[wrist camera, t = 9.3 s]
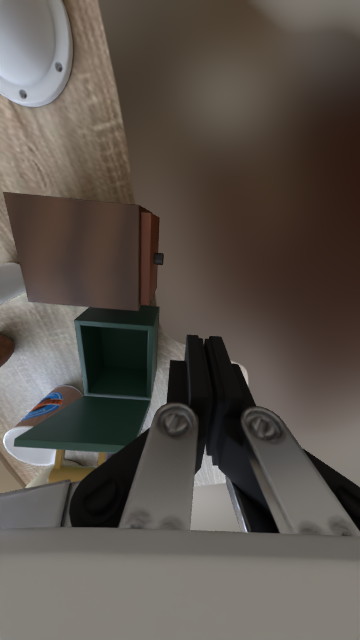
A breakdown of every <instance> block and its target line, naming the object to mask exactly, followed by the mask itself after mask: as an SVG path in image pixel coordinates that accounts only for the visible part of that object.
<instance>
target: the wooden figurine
mask: <svg viewBox="0 0 360 640" xmlns="http://www.w3.org/2000/svg"><path fill="white" fill-rule="evenodd" d="M13 352H14V343H13V341H12V340H11V339H10V338H8V337H6V336H4V335H0V367H1V366H2V365H3V364H4V363H6V362H7V360H8V359H9V358H10V357H11V355H12V354H13Z"/></svg>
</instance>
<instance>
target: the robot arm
mask: <svg viewBox="0 0 360 640" xmlns="http://www.w3.org/2000/svg"><path fill="white" fill-rule="evenodd" d="M72 60H73V39H72V33H71V26H70V22H69V18H68V15H67V11H66V8H65V6H64V3H63V1H62V0H0V94H2V95H3V96H5V97H6V98H8V99H9V100H11V101H12V102H15V103H17V104H20V105H22V106H28V107H40V106H43V105H46V104H49V103H50V102H52V101H53V100H54V99H56V98H57V97H58V96H59V95H60V93H61V92H62V91H63V89H64V87H65V85H66V83H67V81H68V79H69V75H70V72H71V68H72ZM205 444H206V453H207V455H209V456H212V463H213V465H216V466H218V467H219V469H220V470H221V471H222V472H223V473H224V474H225V475H226V476H225V479H226V484H227V487H228V491H229V494H230V497H231V501H232V504H233V507H234V510H235V513H236V517H237V520H238V524H239V527H240V530H241V532H226V531H196V530H190V524H191V511H192V499H193V487H194V475H195V474H196V473H197V472H198V470H199V469H200V468H201V464H202V458H203V454H204V449H205ZM0 640H360V487H358V486H357V485H356V484H354V483H353V482H351V481H350V480H349V479H347V478H346V477H344V476H342V475H341V474H340V473H338V472H337V471H335V470H334V469H332V468H331V467H329V466H328V465H326V464H325V463H324V462H322V461H321V460H319V459H318V458H316V457H315V456H313V455H311V454H310V453H309V452H307V451H306V450H304V449H303V448H302V447H301V446H300V445H299V443H298V442H297V440H296V439H295V437H294V436H293V435H292V433H291V432H290V430H289V429H288V427H287V426H286V424H285V423H284V422H283V420H281V418H280V417H279V416H278V415H276V414H275V413H274V412H272V411H270V410H268V409H266V408H263V407H259V406H256V404H255V402H254V400H253V398H252V395H251V393H250V390H249V388H248V385H247V383H246V381H245V378H244V376H243V374H242V371H241V369H240V367H239V365H238V364H231V361H230V359H229V356H228V353H227V350H226V348H225V345H224V343H223V340H222V337H218V336H210V337H209V339H205V343H204V344H203V339H202V338H199V337H198V335H187V338H186V349H185V360H184V361H177V360H170V368H169V380H168V393H167V404H165V405H163V406H161V407H160V408H159V409H158V410H157V411H156V413H155V415H154V418H153V421H152V424H151V427H150V428H149V429H148V430H146V431H145V432H144V433H142V434H141V435H140V436H138V437H137V438H136V439H134V440H133V441H132V442H130V443H129V444H128V445H126V446H125V447H124V448H122V449H121V450H120V451H118V452H117V453H116V454H114V455H113V456H112V457H110V458H109V459H108V460H106V461H105V462H104V463H102V464H101V465H100V466H98V467H97V468H95V469H94V470H93V471H91V472H90V473H89V474H88V475H87V476H86V477H85V478H84V479H82V480H80V481H75V482H71V480H70V479H67V480H62V481H58V482H53V483H48V484H43V485H39V486H34V487H29V488H24V489H20V490H15V491H10V492H5V493H1V494H0Z"/></svg>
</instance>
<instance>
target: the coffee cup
mask: <svg viewBox="0 0 360 640" xmlns="http://www.w3.org/2000/svg"><path fill="white" fill-rule="evenodd" d="M82 396H83V395H82V393H81V392H80V391H79V390H78V389H76V388H75V387H72V386H69V385H62V386H58V387H57V388H55V389H54V390H53V391H51V392H50V393H49V394H48V395H47V396H46V397H45V398H44V399H43V400H42V401H41V402H40V403H39V404H38V405H36V406H35V407H34V408H33V409H32V410H31V411H30V412H29V413H28V414H27V415H26V416H25V418H23V419H22V420H21V422H19V423H18V424H17V425H16V426H15V427H14V428H13V429H11V430H9V431H8V432H7V433H6V434H5V436H4V440H3V442H4V446H5V448H6V449H7V451H8V452H9V453H10V454H11V455H12V456H14V457H15V458H17V459H19V460H21V461H23V462H25V463H29V464H32V465H40V466H45V465H51V464H54V462H55V455H56V449H42V448H27V447H14V446H13V445H14V439H15V438H16V437H18V436H19V435H21V434H23V433H24V432H26V431H27V430H29V429H31V428H32V427H34V426H36V425H37V424H39V423H40V422H42V421H44V420H45V419H47V418H48V417H50V416H52V415H53V414H55V413H57V412H58V411H60V410H61V409H63V408H65V407H66V406H68V405H69V404H71V403H73V402H74V401H76V400H78V399H79V398H81V397H82ZM8 434H9V435H8Z"/></svg>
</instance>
